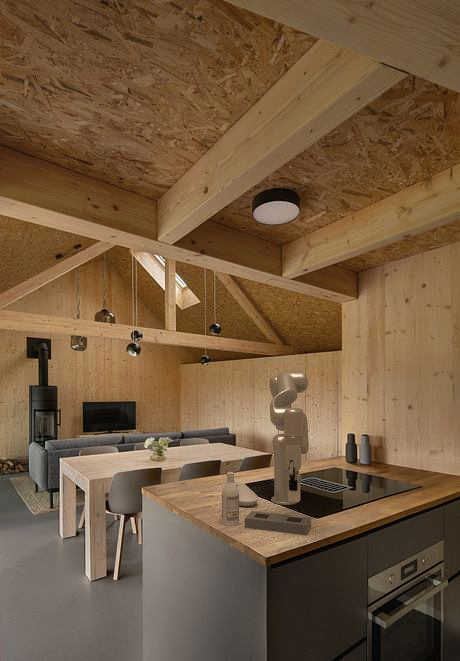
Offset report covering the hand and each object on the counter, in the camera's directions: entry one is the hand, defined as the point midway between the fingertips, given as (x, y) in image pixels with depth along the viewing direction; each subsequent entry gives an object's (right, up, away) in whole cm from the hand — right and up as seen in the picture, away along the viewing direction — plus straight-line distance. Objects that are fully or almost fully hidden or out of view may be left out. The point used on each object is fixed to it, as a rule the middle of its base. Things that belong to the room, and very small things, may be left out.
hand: (294, 488), depth 161 cm
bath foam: (-25, -16, +5) cm, 30 cm away
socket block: (-6, -16, 0) cm, 17 cm away
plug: (0, -4, -1) cm, 4 cm away
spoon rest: (-19, -21, +38) cm, 47 cm away
